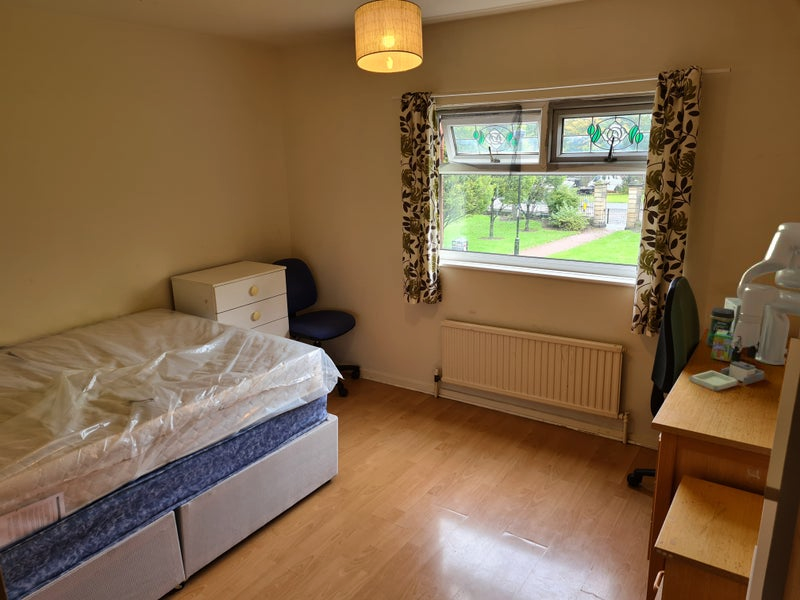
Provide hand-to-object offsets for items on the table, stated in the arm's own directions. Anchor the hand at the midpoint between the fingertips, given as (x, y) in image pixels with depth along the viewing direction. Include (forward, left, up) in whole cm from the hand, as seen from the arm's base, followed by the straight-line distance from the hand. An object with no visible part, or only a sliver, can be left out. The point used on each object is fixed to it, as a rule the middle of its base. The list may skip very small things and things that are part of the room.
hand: (743, 359), depth 218 cm
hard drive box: (-41, -30, -9) cm, 51 cm away
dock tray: (+13, -2, -8) cm, 16 cm away
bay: (-1, 0, -8) cm, 8 cm away
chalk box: (-16, -18, -9) cm, 25 cm away
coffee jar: (-28, -29, -9) cm, 41 cm away
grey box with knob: (-1, 0, -8) cm, 8 cm away
